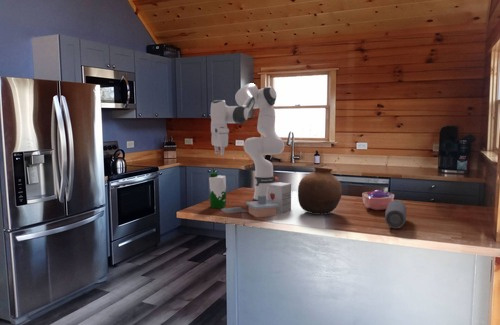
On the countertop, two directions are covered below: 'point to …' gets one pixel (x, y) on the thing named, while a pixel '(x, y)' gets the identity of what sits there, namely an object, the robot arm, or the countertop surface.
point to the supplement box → (280, 196)
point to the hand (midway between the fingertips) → (219, 154)
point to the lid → (262, 203)
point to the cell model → (377, 199)
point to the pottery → (319, 191)
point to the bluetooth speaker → (395, 214)
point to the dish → (262, 212)
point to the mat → (233, 210)
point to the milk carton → (217, 191)
